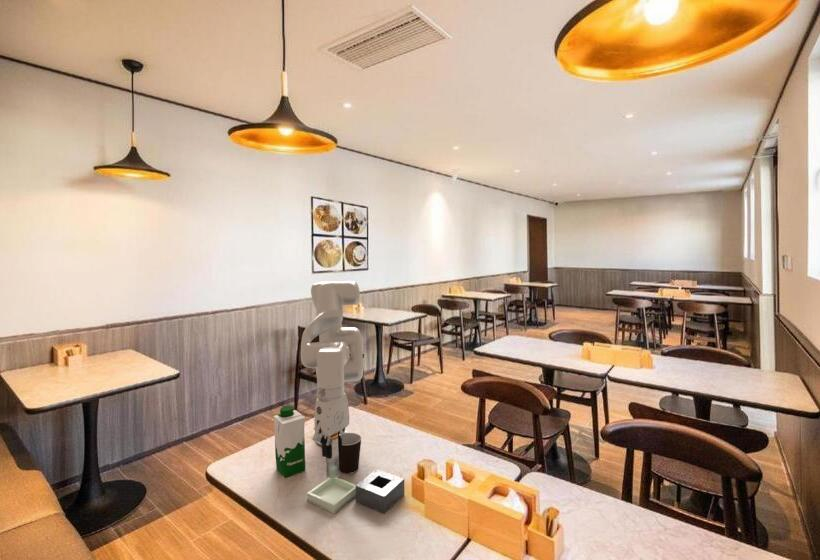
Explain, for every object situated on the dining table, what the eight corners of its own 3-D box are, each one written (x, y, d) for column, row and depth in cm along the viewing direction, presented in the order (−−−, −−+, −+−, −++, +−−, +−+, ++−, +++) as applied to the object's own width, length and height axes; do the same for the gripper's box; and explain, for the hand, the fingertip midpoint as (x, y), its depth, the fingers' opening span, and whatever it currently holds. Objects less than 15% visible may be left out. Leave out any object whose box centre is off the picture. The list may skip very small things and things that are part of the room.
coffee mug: (356, 476, 126) (356, 446, 125) (331, 474, 127) (330, 443, 127) (367, 458, 137) (367, 430, 136) (344, 455, 139) (343, 428, 138)
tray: (307, 501, 113) (306, 493, 113) (332, 483, 122) (332, 475, 122) (334, 513, 108) (334, 505, 108) (358, 494, 117) (358, 485, 117)
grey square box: (355, 502, 113) (355, 485, 113) (376, 484, 121) (376, 468, 121) (384, 514, 108) (384, 496, 107) (404, 495, 116) (404, 478, 116)
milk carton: (297, 459, 136) (296, 403, 135) (309, 470, 129) (308, 411, 128) (272, 468, 131) (270, 409, 129) (283, 481, 124) (281, 418, 122)
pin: (324, 475, 114) (323, 435, 113) (332, 470, 116) (331, 430, 116) (333, 479, 112) (332, 437, 111) (341, 473, 115) (340, 432, 114)
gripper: (319, 403, 104) (321, 471, 105) (359, 385, 118) (360, 445, 119) (299, 397, 108) (301, 463, 109) (340, 381, 122) (341, 439, 123)
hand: (332, 453), depth 114 cm, fingers closed on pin, 3 cm apart
